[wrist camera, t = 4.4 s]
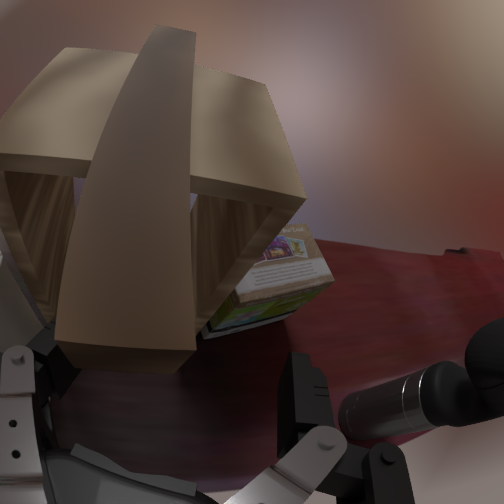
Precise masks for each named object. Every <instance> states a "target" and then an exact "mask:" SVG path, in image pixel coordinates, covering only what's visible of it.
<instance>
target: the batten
mask: <svg viewBox="0 0 504 504" xmlns="http://www.w3.org/2000/svg"><path fill="white" fill-rule="evenodd" d="M195 42H196V33H195V32H191V31H186V30H181V29H177V28H172V27H166V26H161V25H156V26H155V27H154V29H153V30H152V32H151V34H150V35H149V37H148V39H147V41H146V43H145V44H144V46H143V48H142V49H141V51H140V53H139V55H138V56H137V58H136V60H135V62H134V64H133V66H132V68H131V70H130V72H129V74H128V76H127V78H126V80H125V82H124V84H123V86H122V88H121V90H120V92H119V94H118V97H117V99H116V101H115V103H114V106H113V108H112V110H111V112H110V115H109V117H108V120H107V122H106V124H105V127H104V129H103V132H102V134H101V137H100V140H99V142H98V145H97V148H96V150H95V153H94V156H93V159H92V162H91V165H90V168H89V171H88V174H87V177H86V180H85V183H84V187H83V190H82V193H81V197H80V200H79V204H78V207H77V211H76V215H75V218H74V222H73V226H72V231H71V235H70V239H69V244H68V248H67V253H66V258H65V263H64V269H63V274H62V280H61V286H60V293H59V300H58V308H57V316H56V326H55V337H54V340H55V342H56V343H57V344H58V346H59V347H60V349H61V350H62V352H63V353H64V354H65V356H66V357H67V359H68V360H69V361H70V363H71V364H72V365H73V367H74V368H81V369H90V370H101V371H113V372H128V373H149V374H174V373H175V372H176V371H177V370H178V369H179V368H180V367H181V366H182V365H183V364H184V363H185V362H186V361H187V360H188V358H189V357H190V356H191V355H192V354H193V353H194V352H195V351H196V350H197V349H196V336H195V321H194V305H193V287H192V264H191V230H190V143H191V110H192V89H193V71H194V54H195Z"/></svg>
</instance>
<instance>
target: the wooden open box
mask: <svg viewBox="0 0 504 504" xmlns="http://www.w3.org/2000/svg"><path fill="white" fill-rule="evenodd" d="M138 55H139V54H134V53H126V52H118V51H109V50H99V49H84V48H65V49H64V50H62V51H61V52H60V53H59V54H58V55H57V56H56V57H55V58H54V59H53V60H52V61H51V62H50V63H49V64H48V65H47V66H46V67H45V68H44V69H43V70H42V71H41V72H40V73H39V74H38V75H37V76H36V77H35V79H34V80H33V81H32V82H31V83H30V84H29V85H28V86H27V87H26V89H25V90H24V91H23V92H22V93H21V94H20V96H19V97H18V98H17V99H16V100H15V102H14V103H13V104H12V105H11V107H10V108H9V109H8V110H7V112H6V113H5V114H4V116H3V117H2V118H1V119H0V226H1V229H2V232H3V234H4V237H5V239H6V242H7V244H8V246H9V249H10V251H11V253H12V256H13V258H14V260H15V262H16V264H17V267H18V269H19V271H20V273H21V275H22V277H23V279H24V281H25V283H26V285H27V287H28V289H29V291H30V293H31V295H32V296H33V298H34V300H35V302H36V304H37V306H38V307H39V309H40V311H41V313H42V314H43V316H44V318H45V320H46V321H47V323H50V321H51V320H52V319H53V318H54V317H55V316H56V315H57V308H58V300H59V293H60V286H61V280H62V274H63V269H64V263H65V258H66V253H67V248H68V244H69V239H70V235H71V231H72V226H73V222H74V218H75V205H74V186H73V177H78V178H86V177H87V174H88V171H89V168H90V165H91V162H92V159H93V156H94V153H95V150H96V148H97V145H98V142H99V140H100V137H101V134H102V132H103V129H104V127H105V124H106V122H107V120H108V117H109V115H110V112H111V110H112V108H113V106H114V103H115V101H116V99H117V97H118V94H119V92H120V90H121V88H122V86H123V84H124V82H125V80H126V78H127V76H128V74H129V72H130V70H131V68H132V66H133V64H134V62H135V60H136V58H137V56H138ZM190 193H195V194H198V195H197V198H196V200H195V202H194V205H193V208H192V210H191V213H190V230H191V264H192V287H193V305H194V321H195V336H196V335H197V334H198V333H199V331H200V330H201V329H202V328H203V327H204V325H205V324H206V323H207V322H208V320H209V319H210V318H211V317H212V316H213V314H214V313H215V312H216V311H217V309H218V308H219V307H220V306H221V305H222V303H223V302H224V301H225V300H226V298H227V297H228V296H229V295H230V293H231V292H232V291H233V290H234V289H235V287H236V286H237V285H238V284H239V282H240V281H241V280H242V279H243V277H244V276H245V275H246V274H247V273H248V271H249V270H250V269H251V268H252V266H253V265H254V264H255V263H256V261H257V260H258V259H259V258H260V256H261V255H262V254H263V253H264V251H265V250H266V249H267V248H268V247H269V245H270V244H271V243H272V242H273V240H274V239H275V238H276V237H277V235H278V234H279V233H280V232H281V230H282V229H283V228H284V227H285V225H286V224H287V223H288V222H289V220H290V219H291V218H292V216H293V215H294V214H295V213H296V211H297V210H298V209H299V208H300V206H301V205H302V204H303V203H304V202H305V200H306V199H307V197H306V194H305V191H304V189H303V185H302V182H301V179H300V177H299V173H298V171H297V168H296V165H295V162H294V159H293V156H292V154H291V151H290V148H289V145H288V142H287V140H286V137H285V134H284V132H283V129H282V126H281V123H280V121H279V118H278V115H277V113H276V110H275V108H274V105H273V103H272V100H271V98H270V95H269V92H268V90H267V88H266V85H265V84H262V83H259V82H256V81H253V80H250V79H246V78H243V77H240V76H236V75H233V74H229V73H225V72H222V71H218V70H214V69H210V68H206V67H202V66H198V65H194V71H193V89H192V110H191V143H190Z"/></svg>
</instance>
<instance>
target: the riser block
mask: <svg viewBox="0 0 504 504" xmlns="http://www.w3.org/2000/svg"><path fill="white" fill-rule="evenodd" d="M43 328H44V327H43V326H42V324H41V323H40V321H39V320H38V318H37V317H36V315H35V313H34V312H33V310H32V309H31V307H30V305H29V304H28V302H27V300H26V299H25V297H24V295H23V293H22V292H21V290H20V288H19V286H18V284H17V283H16V281H15V279H14V277H13V275H12V273H11V271H10V269H9V268H8V266H7V264H6V262H5V260H4V258H3V256H0V352H3V353H4V352H5V351H6V350H7V349H9V348H10V347H13V346H17V345H21V346H26V345H27V344H28V343H29V342H30V341H31V340H32V339H33V338H34V337H35V336H36V335H37V334H38V333H39V332H40V331H41V330H42V329H43ZM49 401H50V397H49Z"/></svg>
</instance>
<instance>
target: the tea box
mask: <svg viewBox="0 0 504 504" xmlns="http://www.w3.org/2000/svg"><path fill="white" fill-rule="evenodd" d="M334 281H335V280H334V278H333V276H332V274H331V272H330V270H329V268H328V266H327V264H326V262H325V260H324V258H323V256H322V254H321V252H320V250H319V248H318V246H317V244H316V242H315V240H314V238H313V236H312V234H311V232H310V231H309V228H308V226H307V224H290V225H285V227H284V228H283V229H282V230H281V232H280V233H279V234H278V235H277V237H276V238H275V239H274V240H273V242H272V243H271V244H270V245H269V247H268V248H267V249H266V250H265V251H264V253H263V254H262V255H261V256H260V258H259V259H258V260H257V261H256V263H255V264H254V265H253V266H252V268H251V269H250V270H249V271H248V273H247V274H246V275H245V276H244V277H243V279H242V280H241V281H240V282H239V284H238V285H237V286H236V287H235V289H234V290H233V291H232V292H231V293H230V295H229V296H228V297H227V298H226V300H225V301H224V302H223V303H222V305H221V306H220V307H219V308H218V309H217V311H216V312H215V313H214V314H213V316H212V317H211V318H210V319H209V320H208V322H207V323H206V324H205V325H204V327H203V328H202V329H201V330H200V331H201V334H202V337H203V339H209V338H214V337H219V336H222V335H226V334H231V333H235V332H239V331H242V330H246V329H250V328H254V327H257V326H261V325H264V324H268V323H272V322H275V321H278V320H282V319H284V318H286V317H287V316H289V315H290V314H292V313H293V312H294V311H296V310H297V309H299V308H300V307H301V306H303V305H304V304H305V303H307V302H308V301H310V300H311V299H313V298H314V297H315V296H316V295H318V294H319V293H321V292H322V291H323V290H325V289H326V288H327V287H329V286H330V285H331V284H332V283H333V282H334Z"/></svg>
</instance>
